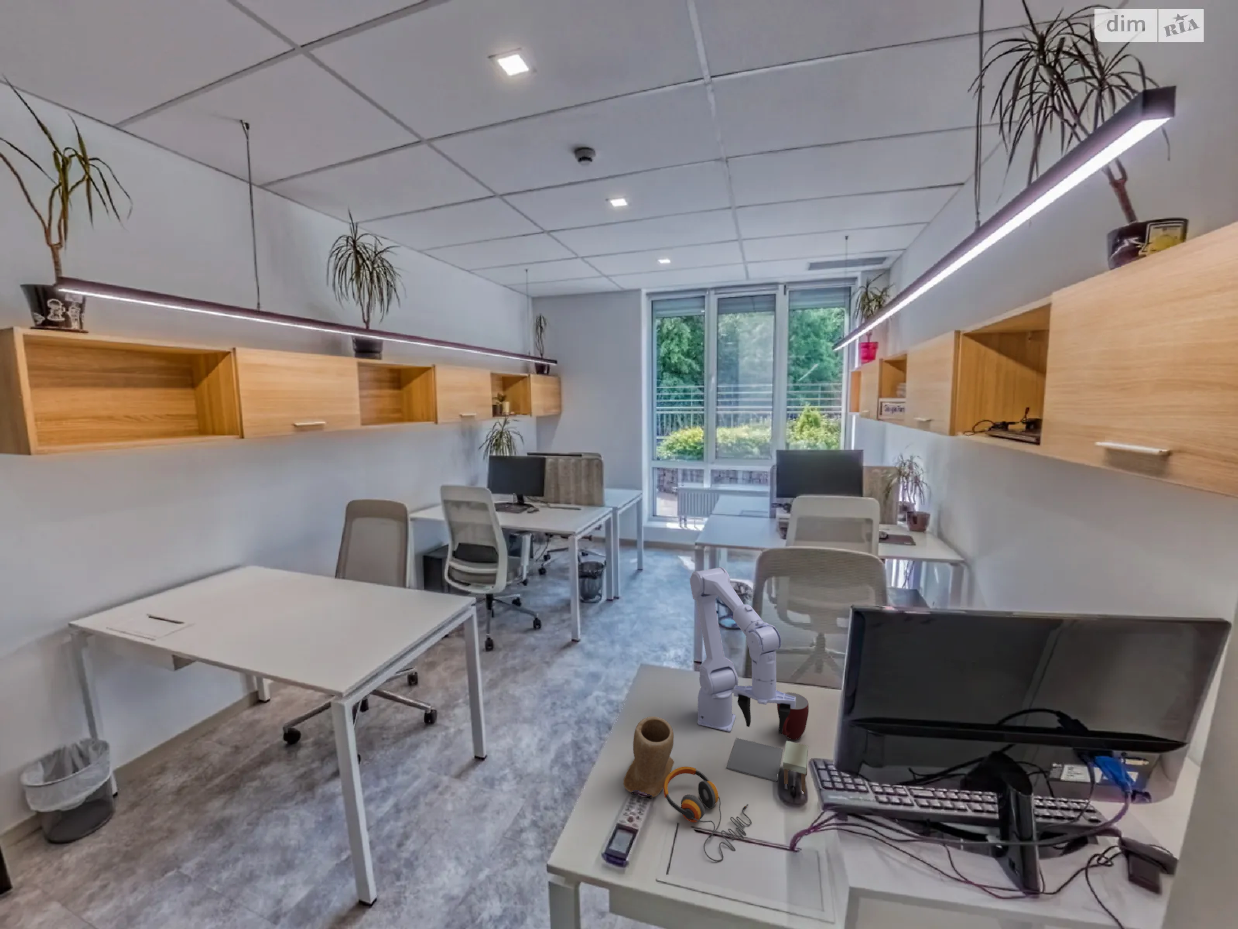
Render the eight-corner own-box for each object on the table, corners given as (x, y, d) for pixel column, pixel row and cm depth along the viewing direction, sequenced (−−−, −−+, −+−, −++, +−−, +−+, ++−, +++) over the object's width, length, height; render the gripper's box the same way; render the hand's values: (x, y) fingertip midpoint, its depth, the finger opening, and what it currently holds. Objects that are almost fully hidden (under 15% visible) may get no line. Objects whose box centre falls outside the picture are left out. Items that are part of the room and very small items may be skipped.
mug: (801, 754, 125) (801, 718, 124) (770, 743, 129) (770, 708, 128) (811, 732, 133) (811, 697, 132) (782, 722, 138) (781, 689, 137)
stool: (783, 790, 113) (782, 762, 112) (786, 767, 120) (786, 740, 120) (805, 796, 111) (805, 767, 110) (808, 772, 118) (808, 745, 118)
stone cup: (664, 809, 109) (662, 747, 107) (617, 793, 114) (615, 733, 113) (686, 765, 122) (684, 709, 121) (642, 752, 128) (641, 698, 126)
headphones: (721, 858, 93) (647, 784, 107) (717, 879, 95) (644, 802, 108) (766, 808, 105) (694, 747, 119) (761, 827, 106) (690, 764, 120)
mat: (727, 768, 121) (727, 767, 120) (736, 739, 131) (736, 737, 131) (777, 782, 116) (777, 780, 115) (782, 750, 126) (782, 748, 126)
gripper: (730, 678, 118) (731, 730, 119) (793, 690, 112) (794, 745, 113) (736, 664, 124) (737, 714, 125) (796, 675, 118) (796, 727, 119)
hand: (764, 728), depth 119 cm, fingers open, 7 cm apart
